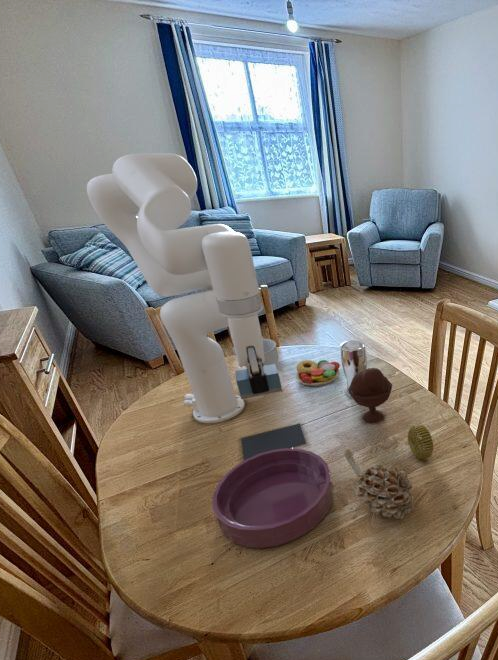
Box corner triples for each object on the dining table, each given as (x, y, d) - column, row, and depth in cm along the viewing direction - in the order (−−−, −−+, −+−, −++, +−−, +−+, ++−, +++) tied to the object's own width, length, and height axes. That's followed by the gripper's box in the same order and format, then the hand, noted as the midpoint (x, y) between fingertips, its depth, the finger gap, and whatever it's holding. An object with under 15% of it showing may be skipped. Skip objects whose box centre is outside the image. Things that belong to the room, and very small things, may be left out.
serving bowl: (197, 546, 74) (187, 525, 71) (251, 464, 92) (245, 445, 90) (313, 554, 73) (309, 533, 70) (345, 469, 91) (342, 450, 88)
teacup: (287, 363, 134) (282, 341, 130) (265, 379, 125) (260, 356, 121) (252, 357, 138) (246, 335, 134) (229, 372, 129) (222, 349, 125)
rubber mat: (244, 461, 93) (243, 460, 93) (241, 439, 100) (241, 438, 100) (306, 444, 98) (306, 443, 98) (299, 424, 105) (299, 423, 105)
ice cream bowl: (396, 406, 112) (394, 358, 105) (389, 431, 103) (385, 380, 95) (358, 404, 113) (353, 356, 106) (347, 428, 104) (341, 377, 96)
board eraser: (241, 399, 83) (236, 381, 81) (239, 388, 87) (235, 370, 84) (282, 391, 86) (278, 373, 84) (279, 381, 90) (275, 363, 87)
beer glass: (346, 386, 122) (340, 340, 114) (370, 385, 122) (366, 339, 114) (344, 399, 116) (338, 351, 108) (369, 398, 116) (364, 350, 108)
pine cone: (429, 513, 81) (429, 475, 75) (392, 543, 75) (389, 504, 70) (360, 460, 94) (356, 425, 89) (324, 482, 88) (317, 446, 83)
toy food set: (297, 368, 131) (295, 359, 129) (339, 364, 134) (338, 355, 132) (295, 390, 120) (294, 380, 118) (342, 384, 122) (340, 375, 121)
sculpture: (405, 448, 97) (404, 420, 93) (420, 442, 99) (419, 415, 95) (420, 468, 91) (420, 440, 87) (436, 462, 93) (436, 434, 89)
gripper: (216, 291, 81) (238, 370, 91) (219, 323, 68) (243, 411, 78) (257, 286, 84) (273, 364, 94) (266, 316, 71) (284, 403, 81)
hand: (259, 385), depth 86 cm, fingers closed on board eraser, 4 cm apart
